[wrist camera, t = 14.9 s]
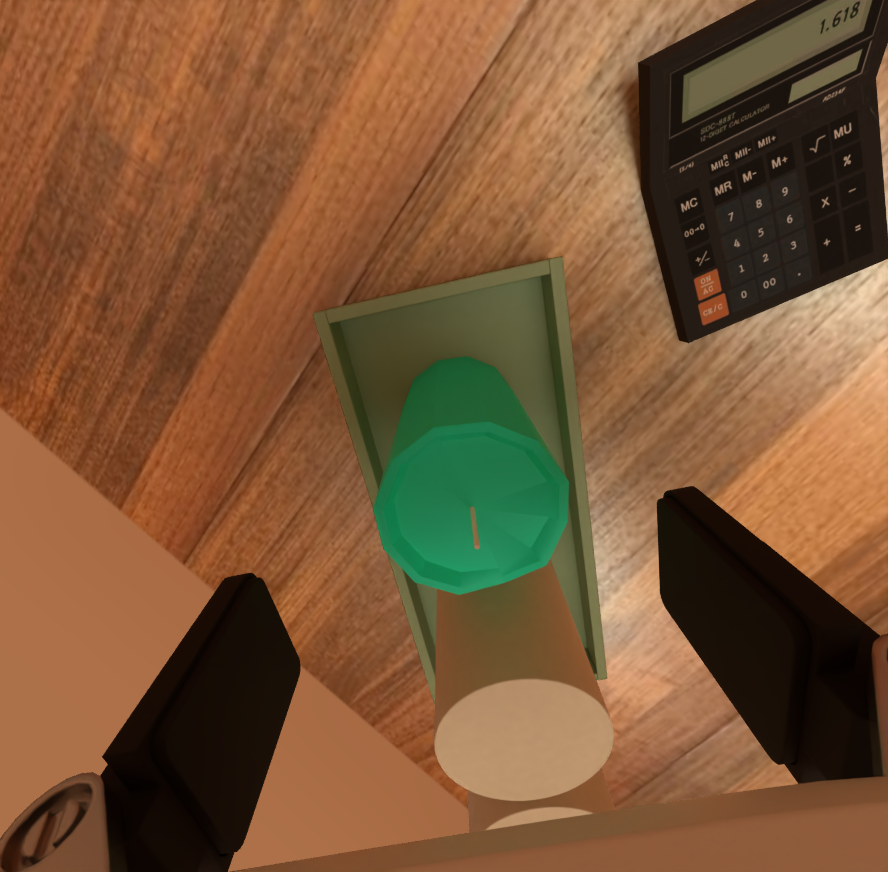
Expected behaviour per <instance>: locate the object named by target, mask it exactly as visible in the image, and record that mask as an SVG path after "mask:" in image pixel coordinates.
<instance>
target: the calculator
mask: <svg viewBox="0 0 888 872" xmlns="http://www.w3.org/2000/svg"><path fill="white" fill-rule="evenodd" d="M887 43H888V0H756V1H754V2H752V3H750V4H749V5H747V6H745V7H743V8H741V9H739V10H737V11H735V12H733V13H731V14H730V15H728V16H726V17H724V18H722V19H720V20H718V21H716V22H714V23H713V24H711V25H709V26H707V27H705V28H703V29H701V30H699V31H697V32H695V33H694V34H692V35H690V36H688V37H686V38H684V39H682V40H680V41H678V42H676V43H675V44H673V45H671V46H669V47H667V48H665V49H663V50H661V51H659V52H658V53H656V54H654V55H652V56H650V57H648V58H646V59H644V60H642V61H640V62H639V63H638V77H639V116H640V155H641V191H642V195H643V199H644V203H645V207H646V211H647V215H648V219H649V223H650V227H651V231H652V234H653V238H654V242H655V246H656V250H657V254H658V258H659V262H660V266H661V270H662V274H663V278H664V282H665V286H666V290H667V294H668V297H669V301H670V305H671V309H672V313H673V317H674V321H675V325H676V329H677V333H678V337H679V340H680V341H683V342H687V343H689V342H692V341H694V340H697V339H699V338H701V337H704V336H706V335H708V334H711V333H713V332H715V331H718V330H720V329H723V328H725V327H727V326H730V325H732V324H734V323H737V322H739V321H742V320H744V319H746V318H749V317H751V316H753V315H756V314H758V313H760V312H763V311H765V310H768V309H770V308H772V307H775V306H777V305H779V304H782V303H784V302H787V301H789V300H791V299H794V298H796V297H798V296H801V295H803V294H805V293H808V292H810V291H813V290H815V289H817V288H820V287H822V286H824V285H827V284H829V283H831V282H834V281H836V280H839V279H841V278H843V277H846V276H848V275H850V274H853V273H855V272H858V271H860V270H862V269H865V268H867V267H869V266H872V265H874V264H876V263H879V262H881V261H884V260H886V259H888V232H887V219H886V206H885V193H884V180H883V166H882V153H881V140H880V127H879V114H878V100H877V87H876V76H877V73H878V70H879V67H880V64H881V61H882V58H883V55H884V52H885V49H886V46H887Z"/></svg>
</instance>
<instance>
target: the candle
mask: <svg viewBox="0 0 888 872" xmlns="http://www.w3.org/2000/svg"><path fill="white" fill-rule="evenodd" d="M568 499H569V481H568V480H567V478H566V476H565V475H564V473H563V471H562V470H561V468H560V467H559V465H558V463H557V462H556V460H555V458H554V457H553V455H552V454H551V452H550V450H549V449H548V447H547V445H546V444H545V442H544V441H543V439H542V437H541V436H540V434H539V432H538V431H537V429H536V428H535V426H534V424H533V423H532V421H531V419H530V418H529V416H528V415H527V413H526V411H525V410H524V408H523V406H522V405H521V403H520V402H519V400H518V398H517V397H516V395H515V393H514V392H513V390H512V389H511V388H510V386H509V385H508V384H507V382H506V381H505V379H504V378H503V377H502V375H501V374H500V373H499V371H498V370H497V369H496V368H495V367H493V366H491V365H488V364H486V363H483V362H481V361H479V360H476V359H474V358H471V357H469V356H466V357H458V358H451V359H444V360H438V361H436V362H435V363H434V364H432V365H431V366H430V367H429V368H427V369H426V370H425V371H423V372H422V373H421V374H419V375H418V376H417V377H416V378H414V380H413V383H412V385H411V388H410V391H409V393H408V396H407V398H406V401H405V403H404V406H403V409H402V413H401V416H400V419H399V423H398V426H397V429H396V433H395V436H394V440H393V443H392V446H391V450H390V453H389V456H388V460H387V463H386V466H385V470H384V473H383V476H382V480H381V483H380V486H379V490H378V493H377V496H376V500H375V503H374V507H373V510H374V514H375V518H376V522H377V526H378V530H379V534H380V538H381V541H382V545H383V549H384V550H385V551H386V552H387V553H388V554H389V555H390V556H391V557H392V559H393V560H394V561H395V562H396V563H397V564H398V565H399V566H400V567H401V568H402V569H403V570H404V571H405V572H406V573H407V574H408V576H409V577H410V578H411V579H412V580H413V581H414V582H416V583H419V584H423V585H426V586H430V587H433V588H437V589H440V590H444V591H447V592H451V593H454V594H458V595H461V594H465V593H469V592H472V591H476V590H480V589H483V588H487V587H491V586H495V585H498V584H502V583H506V582H508V581H510V580H513V579H515V578H518V577H520V576H522V575H525V574H527V573H530V572H532V571H534V570H537V569H539V568H542V567H544V566H546V565H547V564H548V562H549V560H550V558H551V556H552V553H553V551H554V549H555V547H556V545H557V543H558V541H559V539H560V537H561V535H562V533H563V531H564V528H565V526H566V524H567V522H568Z"/></svg>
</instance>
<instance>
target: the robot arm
mask: <svg viewBox="0 0 888 872" xmlns="http://www.w3.org/2000/svg"><path fill="white" fill-rule="evenodd" d="M657 523H658V551H659V578H660V595H661V599H662V601H663V604H664V606H665V608H666V609H667V611H668V612H669V614H670V615H671V617H672V618H673V619H674V621H675V622H676V624H677V625H678V627H679V628H680V629H681V631H682V632H683V634H684V635H685V637H686V638H687V640H688V641H689V642H690V644H691V645H692V647H693V648H694V650H695V651H696V652H697V654H698V655H699V657H700V658H701V660H702V661H703V662H704V664H705V665H706V667H707V668H708V670H709V671H710V672H711V674H712V675H713V677H714V678H715V680H716V681H717V683H718V684H719V685H720V687H721V688H722V690H723V691H724V693H725V694H726V695H727V697H728V698H729V700H730V701H731V703H732V704H733V705H734V707H735V708H736V710H737V711H738V713H739V714H740V716H741V717H742V718H743V720H744V721H745V723H746V724H747V726H748V727H749V728H750V730H751V731H752V733H753V734H754V736H755V737H756V738H757V740H758V741H759V743H760V744H761V746H762V747H763V749H764V750H765V751H766V753H767V754H768V755H769V757H770V758H771V759H772V760H773V761H774V762H775V763H777V764H778V765H780V764H785V766H786V767H787V768H788V770H789V771H790V772H791V774H792V775H793V777H794V778H795V779H796V781H797V782H798V784H795V785H788V786H780V787H772V788H765V789H757V790H750V791H742V792H734V793H727V794H719V795H712V796H705V797H699V798H692V799H686V800H679V801H672V802H666V803H659V804H653V805H646V806H639V807H633V808H626V809H620V810H613V811H606V812H600V813H593V814H587V815H580V816H574V817H567V818H560V819H554V820H547V821H541V822H535V823H528V824H522V825H516V826H509V827H503V828H497V829H490V830H484V831H478V832H471V833H465V834H459V835H453V836H446V837H440V838H433V839H427V840H421V841H415V842H408V843H402V844H396V845H389V846H384V847H377V848H371V849H365V850H358V851H352V852H346V853H341V854H334V855H328V856H322V857H316V858H310V859H304V860H298V861H292V862H286V863H279V864H274V865H268V866H262V867H255V868H249V869H243V870H237V871H231V872H888V634H884V635H881V636H880V635H878V634H877V633H876V632H875V631H873V630H872V629H871V628H870V627H869V626H867V625H866V624H865V623H864V622H862V621H861V620H860V619H859V618H857V617H856V616H855V615H854V614H852V613H851V612H850V611H849V610H848V609H846V608H845V607H844V606H843V605H841V604H840V603H839V602H838V601H836V600H835V599H834V598H833V597H831V596H830V595H829V594H828V593H826V592H825V591H824V590H823V589H822V588H820V587H819V586H818V585H817V584H815V583H814V582H813V581H812V580H810V579H809V578H808V577H807V576H805V575H804V574H803V573H802V572H801V571H799V570H798V569H797V568H796V567H794V566H793V565H792V564H791V563H789V562H788V561H787V560H786V559H784V558H783V557H782V556H781V555H779V554H778V553H777V552H776V551H775V550H773V549H772V548H771V547H770V546H768V545H767V544H766V543H765V542H763V541H761V540H760V539H759V538H757V537H756V536H755V535H754V534H753V533H751V532H750V531H749V530H748V529H746V528H745V527H744V526H743V525H741V524H740V523H739V522H738V521H737V520H735V519H734V518H733V517H732V516H730V515H729V514H728V513H727V512H725V511H724V510H723V509H722V508H720V507H719V506H718V505H717V504H716V503H714V502H713V501H712V500H711V499H709V498H708V497H707V496H706V495H704V494H703V493H702V492H701V491H700V490H698V489H697V488H695V487H694V486H689V487H684V488H679V489H674V490H669V491H666V492H665V493H664V496H663V498H662V499H659V500H658V501H657ZM299 675H300V660H299V657H298V655H297V653H296V650H295V648H294V646H293V644H292V642H291V639H290V637H289V635H288V633H287V631H286V628H285V626H284V624H283V622H282V620H281V617H280V615H279V613H278V611H277V609H276V606H275V604H274V602H273V600H272V598H271V595H270V593H269V591H268V589H267V587H266V585H265V582H264V581H263V579H262V578H259V577H258V578H257V577H256V576H255V575H254V574H253V573H246V574H241V575H236V576H231V577H227V578H225V579H224V580H223V581H222V583H221V584H220V585H219V587H218V588H217V590H216V591H215V593H214V594H213V596H212V597H211V599H210V600H209V602H208V603H207V605H206V606H205V607H204V609H203V610H202V612H201V613H200V615H199V616H198V618H197V619H196V621H195V622H194V623H193V625H192V626H191V628H190V629H189V631H188V632H187V634H186V635H185V637H184V638H183V639H182V641H181V642H180V644H179V645H178V647H177V648H176V650H175V651H174V653H173V654H172V656H171V657H170V658H169V660H168V661H167V663H166V664H165V666H164V667H163V669H162V670H161V671H160V673H159V675H158V676H157V677H156V679H155V680H154V682H153V683H152V685H151V686H150V688H149V689H148V690H147V692H146V693H145V695H144V696H143V698H142V699H141V701H140V702H139V704H138V705H137V707H136V708H135V710H134V711H133V712H132V714H131V715H130V717H129V718H128V720H127V721H126V723H125V724H124V726H123V727H122V729H121V730H120V731H119V733H118V734H117V736H116V737H115V739H114V740H113V742H112V743H111V744H110V746H109V747H108V749H107V750H106V752H105V753H104V755H103V756H102V757H103V759H104V760H105V761H106V762H107V764H108V765H107V767H106V768H105V770H104V771H103V773H102V774H101V776H99V775H97V774H95V773H93V772H92V773H81V774H78V775H76V776H73V777H70V778H68V779H66V780H64V781H63V782H61V783H59V784H57V785H56V786H54V787H52V788H51V789H50V790H48V791H47V792H45V793H44V794H43V795H41V796H40V797H39V798H38V799H36V800H35V801H34V802H33V803H32V804H31V805H30V806H29V807H27V809H25V810H24V811H23V812H22V813H21V814H20V815H19V816H18V817H17V818H16V819H15V821H14V822H13V823H12V824H11V826H10V827H9V828H8V829H7V830H6V832H5V833H4V834H3V835H2V837H1V838H0V872H228V869H229V866H230V864H231V861H232V858H233V855H234V852H237V851H238V850H239V849H240V848H241V846H242V845H243V843H244V840H245V838H246V835H247V832H248V829H249V826H250V823H251V820H252V817H253V814H254V811H255V808H256V805H257V802H258V799H259V796H260V793H261V790H262V787H263V784H264V780H265V778H266V775H267V771H268V769H269V766H270V762H271V760H272V756H273V754H274V750H275V748H276V745H277V742H278V739H279V736H280V733H281V730H282V727H283V724H284V721H285V718H286V715H287V711H288V709H289V705H290V703H291V699H292V696H293V693H294V690H295V687H296V685H297V681H298V678H299Z"/></svg>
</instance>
